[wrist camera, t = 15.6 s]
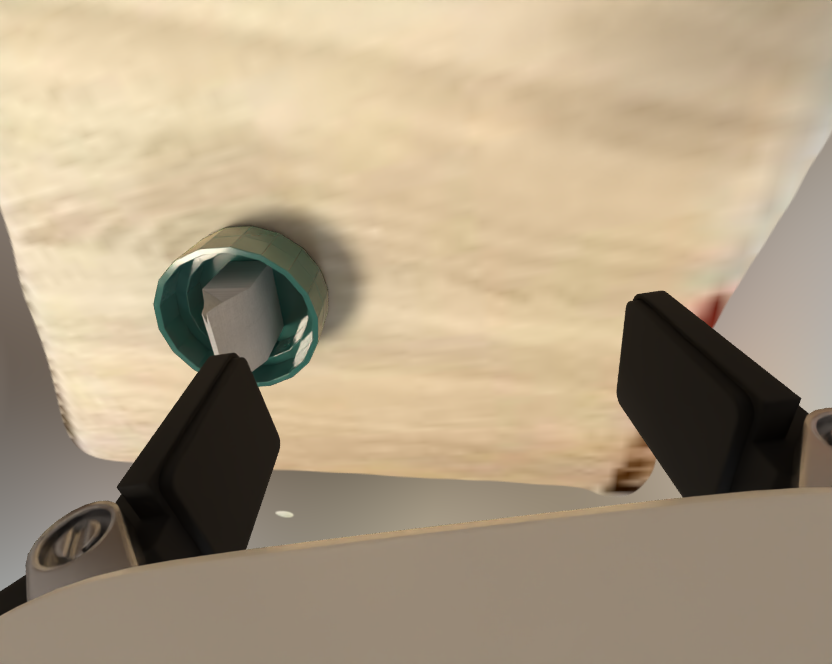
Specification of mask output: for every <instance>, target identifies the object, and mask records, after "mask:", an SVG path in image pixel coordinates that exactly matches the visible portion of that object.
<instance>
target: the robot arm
mask: <svg viewBox="0 0 832 664" xmlns="http://www.w3.org/2000/svg"><path fill="white" fill-rule="evenodd" d="M617 398H618V401H619V404H620V405H621V407H622V408H623V410H624V411H625V413H626V414H627V416H628V417H629V419H630V420H631V422H632V423H633V425H634V426H635V428H636V429H637V431H638V432H639V434H640V435H641V436H642V438H643V439H644V441H645V442H646V444H647V445H648V447H649V448H650V450H651V451H652V453H653V454H654V456H655V457H656V459H657V460H658V461H659V463H660V464H661V466H662V467H663V469H664V470H665V472H666V473H667V475H668V476H669V478H670V479H671V481H672V482H673V483H674V485H675V486H676V488H677V489H678V491H679V492H680V494H681V495H682V497H683V498H674V499H664V500H655V501H646V502H638V503H629V504H620V505H611V506H603V507H594V508H585V509H576V510H568V511H559V512H550V513H541V514H534V515H525V516H516V517H507V518H500V519H491V520H482V521H474V522H465V523H457V524H449V525H440V526H432V527H424V528H415V529H408V530H399V531H391V532H383V533H374V534H366V535H358V536H351V537H342V538H335V539H326V540H318V541H310V542H302V543H295V544H287V545H278V546H271V547H263V548H255V549H247V550H246V548H247V545H248V542H249V539H250V536H251V533H252V530H253V527H254V524H255V521H256V518H257V515H258V512H259V509H260V506H261V503H262V500H263V497H264V494H265V491H266V488H267V485H268V482H269V479H270V476H271V474H272V471H273V468H274V465H275V462H276V459H277V456H278V453H279V449H280V438H279V435H278V432H277V430H276V428H275V425H274V423H273V421H272V418H271V416H270V414H269V411H268V409H267V407H266V404H265V402H264V399H263V397H262V395H261V392H260V390H259V388H258V385H257V383H256V381H255V378H254V376H253V374H252V371H251V369H250V367H249V364H248V362H247V360H246V359H245V358H244V357H239V356H238V355H237V354H236V353H227V354H220V355H213V356H210V357H209V358H208V359H207V360H206V362H205V363H204V365H203V366H202V367H201V369H200V370H199V372H198V373H197V374H196V376H195V377H194V379H193V380H192V381H191V383H190V384H189V386H188V387H187V389H186V390H185V391H184V393H183V394H182V396H181V397H180V398H179V400H178V401H177V403H176V404H175V405H174V407H173V408H172V410H171V411H170V412H169V414H168V415H167V417H166V418H165V420H164V421H163V422H162V424H161V425H160V427H159V428H158V429H157V431H156V432H155V434H154V435H153V436H152V438H151V439H150V441H149V442H148V443H147V445H146V446H145V448H144V449H143V451H142V452H141V453H140V455H139V456H138V458H137V459H136V460H135V462H134V463H133V465H132V466H131V467H130V469H129V470H128V472H127V473H126V475H125V476H124V477H123V479H122V480H121V482H120V483H119V484H118V486H117V488H118V490H119V491H120V493H121V495H120V497H119V498H118V500H117V501H116V503H114V502H110V501H98V502H94V503H90V504H87V505H84V506H82V507H80V508H78V509H76V510H73V511H71V512H70V513H68V514H67V515H65V516H64V517H62V518H61V519H59V520H58V521H56V522H55V523H54V524H53V525H52V526H51V527H49V528H48V529H47V530H46V531H45V532H44V533H43V534H42V535H41V536H40V538H39V539H38V540H37V541H36V542H35V543H34V545H33V547H32V548H31V550H30V552H29V553H28V556H27V561H26V575H25V576H23V577H22V578H20V579H19V580H17V581H16V582H14V583H13V584H11V585H10V586H8V587H6V588H5V589H3V590H2V591H0V664H832V408H824V409H819V410H815V411H813V412H811V413H810V414H809V413H807V412H806V411H805V410H804V409H803V408H801V407H800V406H799V403H800V400H801V398H800V397H799V396H798V395H796V394H795V393H793V392H792V391H791V390H790V389H789V388H787V387H786V386H785V385H784V384H782V383H781V382H780V381H778V380H777V379H776V378H775V377H773V376H772V375H771V374H770V373H768V372H767V371H766V370H765V369H763V368H762V367H761V366H759V365H758V364H757V363H756V362H754V361H753V360H752V359H751V358H749V357H748V356H747V355H745V354H744V353H743V352H742V351H740V350H739V349H738V348H736V347H735V346H734V345H732V344H731V343H730V342H729V341H728V340H726V339H725V338H724V337H723V336H721V335H720V334H719V333H718V332H716V331H715V330H714V329H712V328H711V327H710V326H709V325H707V324H706V323H705V322H704V321H702V320H701V319H700V318H698V317H697V316H696V315H695V314H693V313H692V312H691V311H690V310H688V309H687V308H686V307H684V306H683V305H682V304H681V303H679V302H678V301H677V300H676V299H674V298H673V297H672V296H671V295H669V294H668V293H667V292H665V291H656V292H649V293H642V294H637V295H636V296H635V297H634V299H633V301H629V302H628V303H627V305H626V311H625V320H624V329H623V338H622V347H621V356H620V365H619V374H618V383H617Z"/></svg>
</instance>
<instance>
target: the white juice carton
mask: <svg viewBox="0 0 832 664" xmlns="http://www.w3.org/2000/svg"><path fill="white" fill-rule="evenodd" d="M202 291H203V298H204V309H203V311H202V316H203V320H204V323H205V326H206V329H207V332H208V336H209V339H210V342H211V345H212V349H213V352H214V355H220V354H227V353H236V354H237V355H238V356H239V357H244V358H245V359H246V360H247V362H248V364H249V367H250V369H251V371H254V370H255V369H256V368H258V367H259V366H260V365H262V364H263V363H264V362H266V361H267V360H268V358H269V356H270V354H271V352H272V350H273V348H274V346H275V343H276V341H277V339H278V337H279V335H280V333H281V331H282V329H283V327H284V324H283V319H282V314H281V309H280V304H279V299H278V294H277V290H276V285H275V280H274V275H273V270H272V268H271V267H270V266H268V265H266V264H265V263H263V262H261V261H234V262H228V263H227V264H226V265H225V266H224V267H223V268H222V269H221V270H220V271H219V273H218V274H217V275H216V276H215V277H214V278H213V279H212V280H211V281H210V282H209V283H208V284H207V285H206V286H205V287H204V288H203V289H202Z"/></svg>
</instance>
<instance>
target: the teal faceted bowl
mask: <svg viewBox="0 0 832 664" xmlns="http://www.w3.org/2000/svg"><path fill="white" fill-rule="evenodd" d="M234 261H261V262H263V263H265V264H266V265H268V266H270V267H271V268H272V270H273V275H274V280H275V285H276V290H277V294H278V299H279V304H280V309H281V314H282V319H283V324H284V327H283V329H282V331H281V333H280V335H279V337H278V339H277V341H276V343H275V346H274V348H273V350H272V352H271V354H270V356H269V358H268V360H267V361H266V362H264V363H263V364H262V365H260V366H259V367H258V368H256V369H255V370H254V371H252V374H253V376H254V378H255V381H256V383H257V385H258V387H260V386H271V385H274V384H276V383H279V382H282V381H284V380H287V379H289V378H292V377H293V376H295V375H296V374H297V373H298V372H299V371H300V370H301V369H302V368H303V367H304V366H306V365H307V364H308V363H309V362H310V359H311V357H312V355H313V353H314V351H315V348H316V346H317V344H318V341H319V338H320V335H321V332H322V329H323V326H324V323H325V320H326V317H327V314H328V289H327V286H326V284H325V281H324V278H323V276H322V273H321V271H320V269H319V267H318V266H317V265H316V263H315V262H314V261H313V260H312V259H311V257H310V256H309V255H308V254H307V253H306V252H305V250H304V249H302V247H300V246H299V245H297V244H296V243H294V242H293V241H291V240H289V239H288V238H286V237H285V236H283V235H281V234H280V233H276V232H273V231H269V230H265V229H261V228H258V227H254V226H243V227H228V228H224V229H222V230H220V231H218V232H215V233H213V234H211V235H209V236H207V237H205V238H203V239H202V240H201V241H199V242H198V243H197V244H196V245H194V246H193V247H192V248H190V249H189V250H188V251H186V252H185V253H184V254H183V255H181V256H180V257H179V258H177V259H176V260H175V261H174V262H173V263H172V264H171V265H170V267H169V268H168V269H167V270H166V272H165V273H164V274H163V275H162V276H161V278H160V279H159V281H158V285H157V290H156V294H155V299H154V310H155V314H156V319H157V323H158V328H159V330H160V332H161V334H162V335H163V337H164V338H165V340H166V341H167V343H168V345H169V346H170V348H171V349H172V351H173V352H174V353H175V354H176V355H177V356H179V357H180V358H181V359H182V360H183V361H184V362H185V363H187V364H188V365H189V366H190V367H191V368H192V369H194V370H195V371H197V372H199V370H200V369H201V367H202V366H203V365H204V363H205V362H206V360H207V359H208V358H209V357H210V356H213V355H214V352H213V349H212V345H211V342H210V339H209V336H208V332H207V329H206V326H205V323H204V320H203V316H202V311H203V309H204V298H203V291H202V289H203V288H204V287H205V286H206V285H207V284H208V283H209V282H210V281H211V280H212V279H213V278H214V277H215V276H216V275H217V274H218V273H219V271H220V270H221V269H222V268H223V267H224V266H225V265H226V264H227V263H228V262H234Z"/></svg>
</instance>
